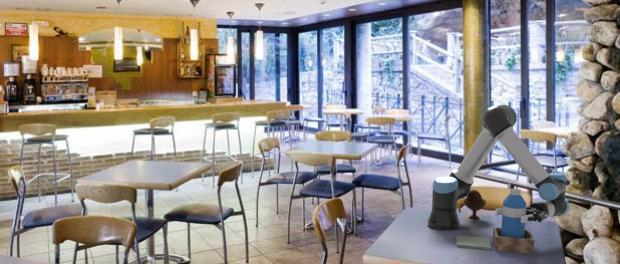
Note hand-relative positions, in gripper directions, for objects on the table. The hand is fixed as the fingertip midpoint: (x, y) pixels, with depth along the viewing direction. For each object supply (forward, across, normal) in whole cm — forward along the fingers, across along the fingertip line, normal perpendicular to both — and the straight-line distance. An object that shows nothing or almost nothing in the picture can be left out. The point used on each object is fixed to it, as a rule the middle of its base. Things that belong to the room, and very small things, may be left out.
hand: (508, 215), depth 228 cm
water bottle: (-3, 0, -14) cm, 15 cm away
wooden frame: (-3, 0, -14) cm, 14 cm away
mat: (+8, +11, -14) cm, 20 cm away
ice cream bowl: (-25, +41, -14) cm, 50 cm away
